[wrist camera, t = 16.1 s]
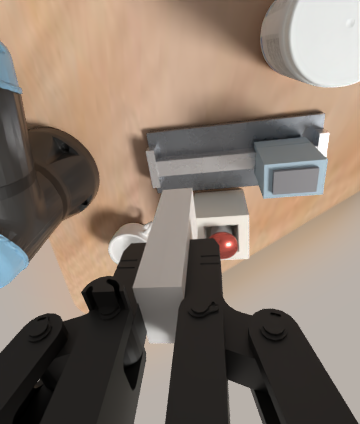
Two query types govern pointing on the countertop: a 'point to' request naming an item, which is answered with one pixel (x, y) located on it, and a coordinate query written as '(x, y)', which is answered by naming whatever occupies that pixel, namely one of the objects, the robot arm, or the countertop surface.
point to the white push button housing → (224, 216)
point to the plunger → (224, 240)
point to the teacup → (127, 238)
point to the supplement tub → (313, 41)
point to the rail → (222, 150)
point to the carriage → (289, 168)
